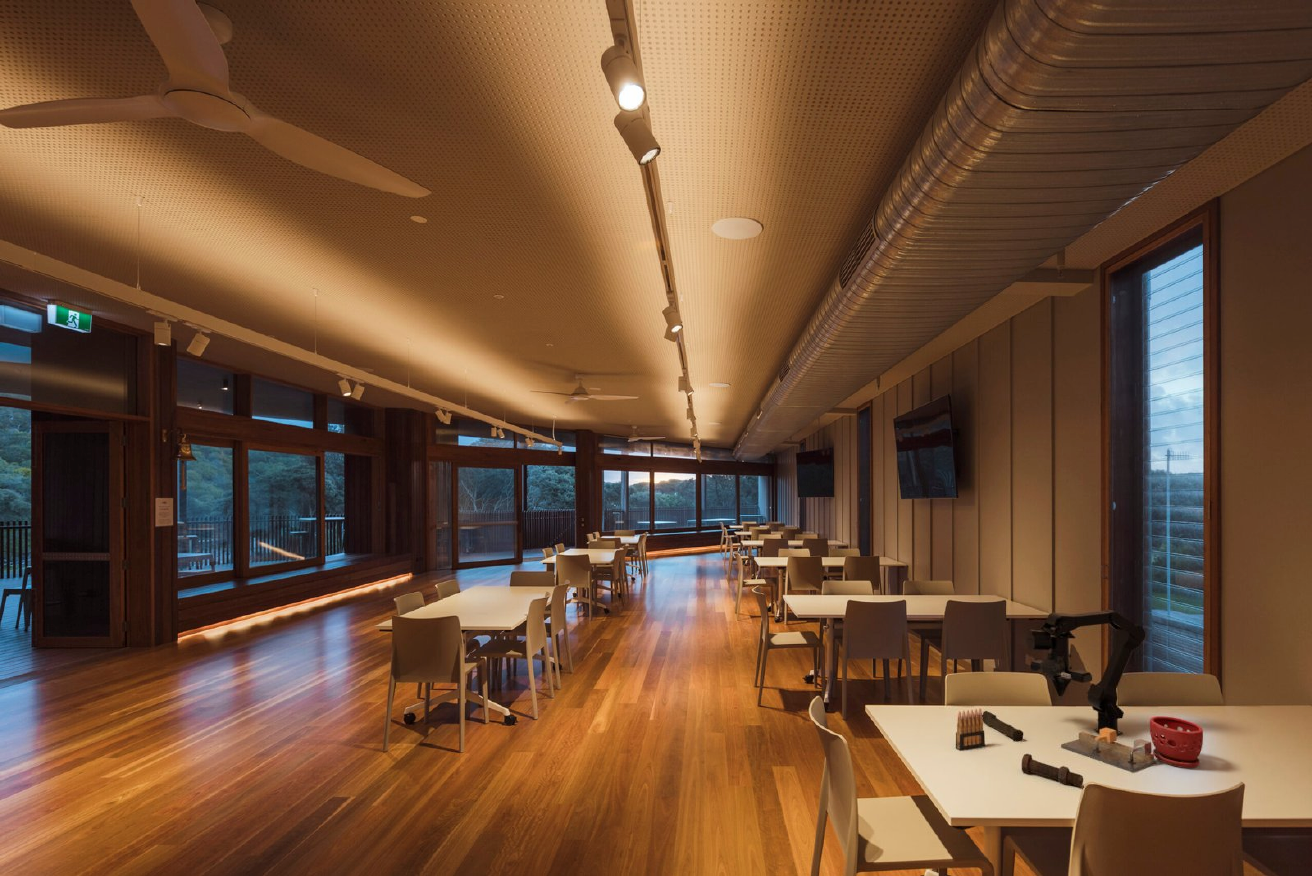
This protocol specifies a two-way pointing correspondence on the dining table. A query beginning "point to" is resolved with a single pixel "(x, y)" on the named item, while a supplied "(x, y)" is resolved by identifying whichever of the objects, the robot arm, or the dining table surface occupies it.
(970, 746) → the ammunition clip
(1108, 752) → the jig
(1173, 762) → the plant pot
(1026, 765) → the bolt
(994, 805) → the dining table surface
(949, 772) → the dining table surface
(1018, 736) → the hand tool
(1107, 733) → the orange block with bar
